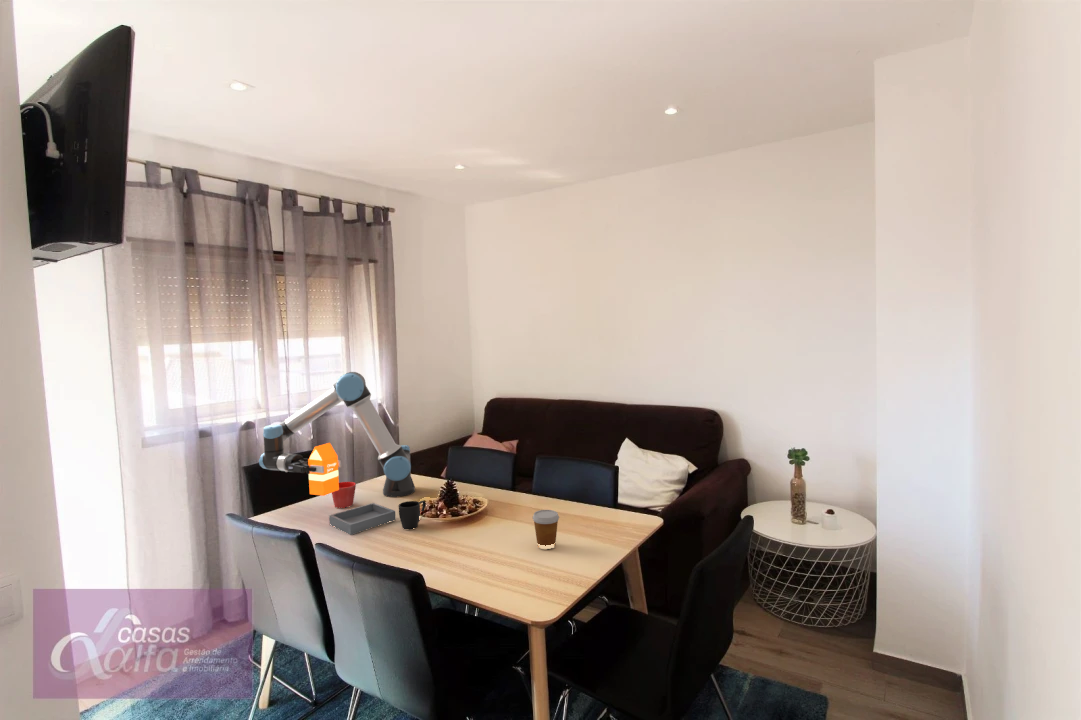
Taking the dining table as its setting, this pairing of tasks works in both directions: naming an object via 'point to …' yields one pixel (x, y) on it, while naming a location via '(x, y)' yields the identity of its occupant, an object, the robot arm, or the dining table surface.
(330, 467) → the orange juice
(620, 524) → the dining table surface
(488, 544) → the dining table surface
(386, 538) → the dining table surface
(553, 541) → the disposable coffee cup
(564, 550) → the dining table surface
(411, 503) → the mug
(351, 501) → the flower pot
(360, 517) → the tray
